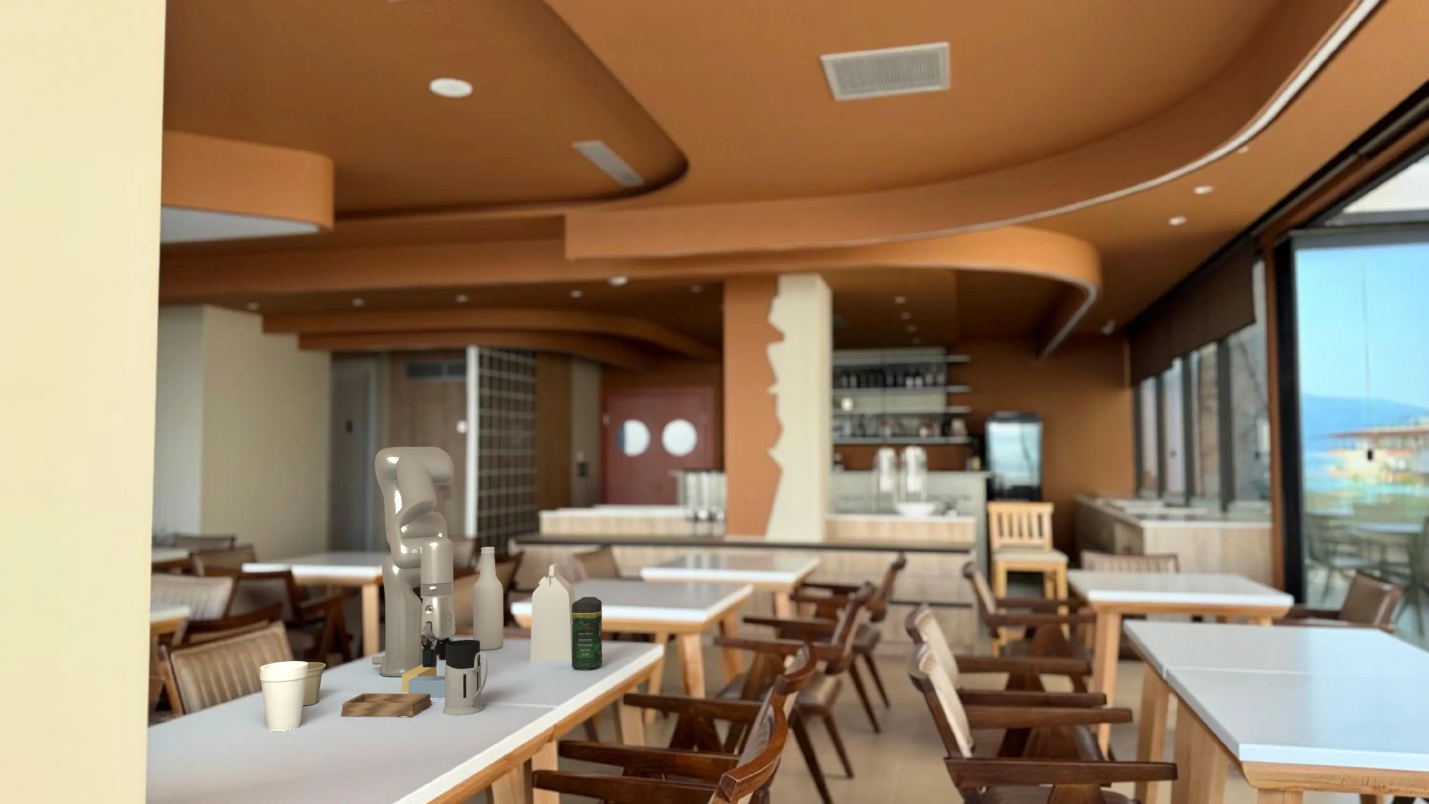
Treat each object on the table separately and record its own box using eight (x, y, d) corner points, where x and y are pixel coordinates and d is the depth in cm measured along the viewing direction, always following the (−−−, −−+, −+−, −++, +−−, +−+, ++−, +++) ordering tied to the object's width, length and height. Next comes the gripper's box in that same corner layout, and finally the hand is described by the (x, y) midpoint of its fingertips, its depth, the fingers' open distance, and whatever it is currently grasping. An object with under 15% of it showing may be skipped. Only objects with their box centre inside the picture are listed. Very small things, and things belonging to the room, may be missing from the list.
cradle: (341, 716, 222) (341, 703, 222) (363, 704, 232) (363, 692, 232) (412, 717, 220) (412, 704, 220) (431, 705, 230) (431, 693, 230)
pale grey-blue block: (408, 699, 237) (408, 680, 238) (417, 694, 242) (417, 676, 243) (457, 700, 236) (457, 680, 236) (465, 695, 241) (465, 676, 241)
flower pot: (334, 700, 237) (334, 663, 237) (302, 710, 228) (303, 671, 229) (305, 697, 241) (305, 660, 241) (272, 706, 232) (273, 668, 233)
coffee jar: (599, 670, 266) (598, 599, 267) (569, 670, 266) (568, 600, 267) (605, 663, 275) (604, 594, 277) (576, 663, 276) (575, 595, 277)
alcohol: (468, 650, 298) (468, 548, 300) (480, 645, 307) (479, 546, 309) (496, 650, 297) (496, 548, 298) (507, 645, 305) (507, 546, 307)
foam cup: (317, 723, 216) (317, 662, 217) (286, 735, 207) (286, 671, 208) (281, 720, 219) (282, 660, 220) (249, 731, 210) (249, 668, 211)
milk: (571, 660, 280) (570, 566, 282) (530, 661, 280) (529, 567, 282) (577, 652, 292) (577, 562, 294) (538, 653, 292) (537, 562, 294)
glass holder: (470, 703, 231) (469, 637, 232) (504, 713, 221) (503, 644, 222) (435, 710, 225) (435, 642, 226) (469, 721, 215) (468, 650, 216)
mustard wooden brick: (401, 693, 244) (401, 674, 245) (421, 682, 256) (421, 664, 257) (417, 693, 244) (417, 674, 244) (436, 682, 256) (436, 664, 256)
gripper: (438, 594, 232) (438, 669, 230) (465, 586, 249) (466, 657, 247) (406, 594, 232) (407, 670, 231) (436, 587, 250) (436, 657, 248)
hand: (437, 663), depth 239 cm, fingers open, 9 cm apart
